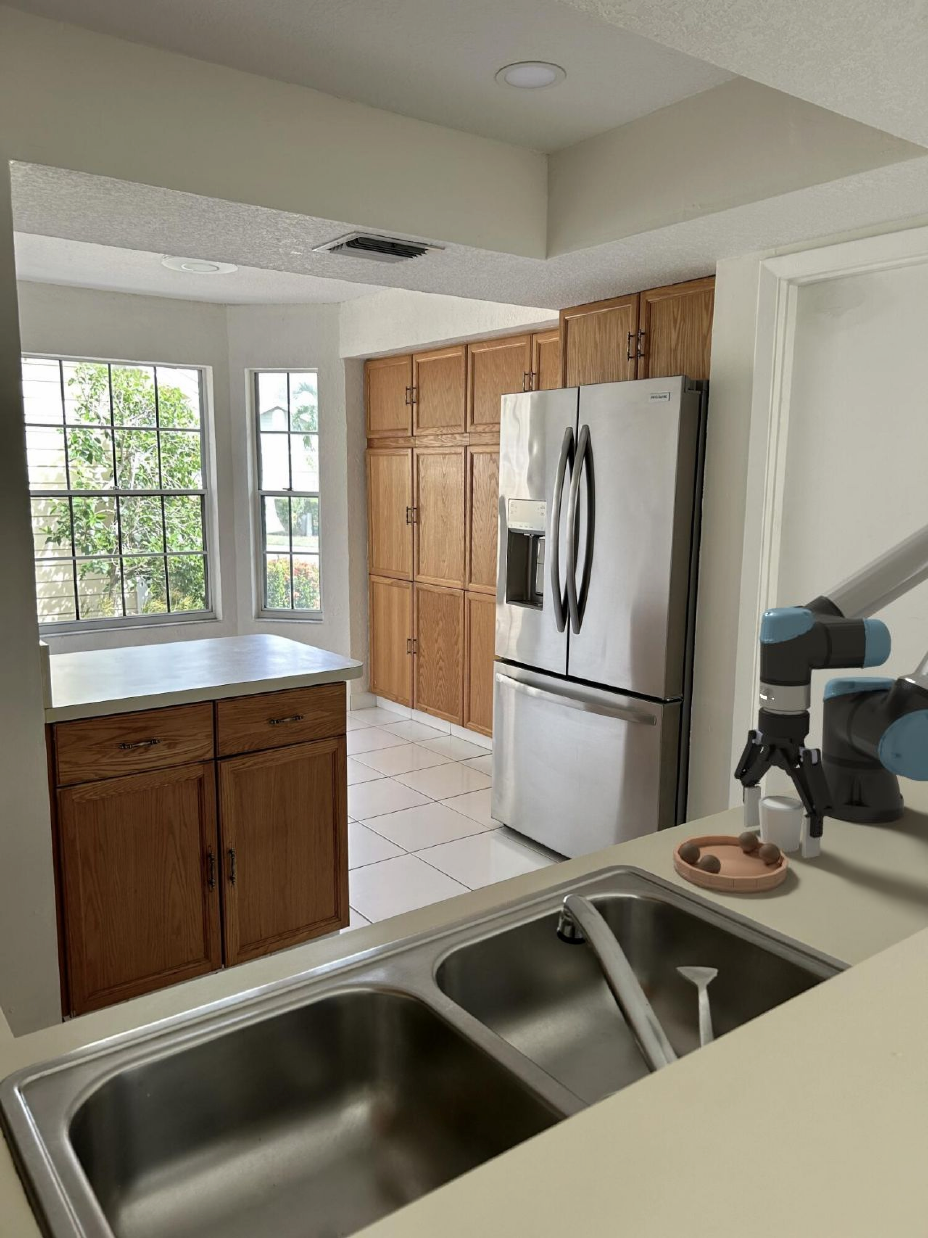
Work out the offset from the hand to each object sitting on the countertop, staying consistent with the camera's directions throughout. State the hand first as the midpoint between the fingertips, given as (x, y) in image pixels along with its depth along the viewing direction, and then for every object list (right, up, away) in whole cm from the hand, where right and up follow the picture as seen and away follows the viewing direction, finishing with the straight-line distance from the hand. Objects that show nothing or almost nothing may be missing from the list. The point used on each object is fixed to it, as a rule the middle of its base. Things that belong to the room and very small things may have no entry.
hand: (780, 840), depth 144 cm
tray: (-10, -2, -9) cm, 14 cm away
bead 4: (-5, 0, -9) cm, 11 cm away
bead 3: (-6, +1, -5) cm, 8 cm away
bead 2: (-15, 0, -13) cm, 20 cm away
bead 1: (-16, 0, -9) cm, 18 cm away
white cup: (0, -1, 0) cm, 1 cm away
